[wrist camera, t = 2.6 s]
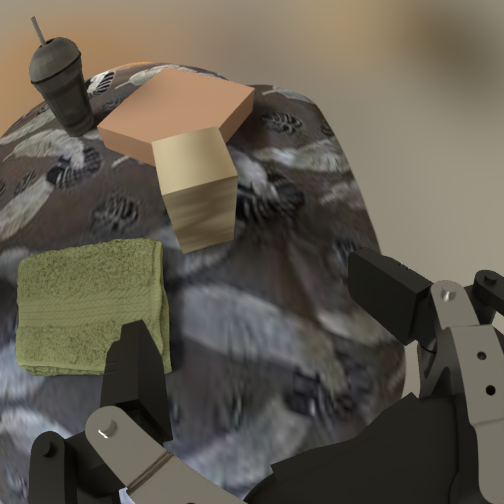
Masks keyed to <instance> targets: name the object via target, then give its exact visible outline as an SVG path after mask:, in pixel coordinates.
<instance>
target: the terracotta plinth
mask: <svg viewBox="0 0 504 504" xmlns="http://www.w3.org/2000/svg"><path fill="white" fill-rule="evenodd" d="M254 92H255V88H252V87H248V86H245V85H242V84H238V83H234V82H231V81H227V80H223V79H219V78H215V77H211V76H207V75H203V74H198V73H194V72H189V71H184V70H178V69H173V68H167V67H166V68H164V69H163V70H161V71H160V72H159V73H157V74H156V75H155V76H154V77H152V78H151V79H150V80H148V81H147V82H146V83H145V84H143V85H142V86H141V87H140V88H138V89H137V90H136V91H135V92H134V93H132V94H131V95H130V96H129V97H128V98H127V99H125V100H124V101H123V102H122V103H121V104H120V105H119V106H118V107H117V108H115V109H114V110H113V111H112V112H111V113H110V114H109V115H108V116H107V117H106V118H105V119H104V120H103V121H102V122H101V123H100V124H99V125H98V126H97V128H98V130H99V133H100V135H101V137H102V140H103V142H104V144H105V146H106V148H108V149H110V150H113V151H116V152H118V153H121V154H124V155H126V156H129V157H132V158H134V159H137V160H139V161H142V162H144V163H147V164H150V165H152V166H155V167H156V164H155V159H154V153H153V148H152V142H154V141H157V140H161V139H165V138H168V137H172V136H176V135H180V134H184V133H188V132H192V131H196V130H201V129H205V128H210V127H215V126H218V129H219V131H220V133H221V136H222V138H223V140H224V143H225V144H226V143H227V142H228V141H229V139H230V138H231V137H232V136H233V134H234V133H235V132H236V131H237V129H238V128H239V127H240V126H241V124H242V123H243V122H244V121H245V119H246V118H247V117H248V116H249V115H250V113H251V112H252V108H253V100H254Z"/></svg>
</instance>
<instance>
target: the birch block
mask: <svg viewBox="0 0 504 504" xmlns="http://www.w3.org/2000/svg"><path fill="white" fill-rule="evenodd" d="M152 148H153V153H154V159H155V164H156V169H157V174H158V179H159V184H160V188H161V193H162V197H163V200H164V203H165V206H166V208H167V211H168V214H169V217H170V220H171V223H172V225H173V228H174V231H175V234H176V236H177V239H178V242H179V244H180V247H181V250H182V252H183V254H186V253H189V252H193V251H196V250H199V249H203V248H206V247H210V246H213V245H216V244H220V243H223V242H227V241H230V240H233V239H234V227H235V212H236V198H237V184H238V173H237V171H236V169H235V166H234V164H233V162H232V159H231V157H230V154H229V152H228V150H227V147H226V145H225V143H224V140H223V138H222V136H221V133H220V131H219V129H218V126H215V127H210V128H205V129H201V130H196V131H192V132H188V133H184V134H180V135H176V136H172V137H168V138H165V139H161V140H157V141H154V142H152Z"/></svg>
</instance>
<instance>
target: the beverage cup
mask: <svg viewBox="0 0 504 504" xmlns="http://www.w3.org/2000/svg"><path fill="white" fill-rule="evenodd" d="M31 21H32V23H33V25H34V28H35V30H36V33H37V35H38V37H39V39H40V42H41V44H42V45H41V46H40V47H39V48H38V49H37V50H36V51H35V53H34V55H33V57H32V59H31V62H30V67H29V74H30V78H31V83H32V84H34V86H35V88H36V89H37V90H38V91H39V92H40V93H41V94H42V96H43V98H44V99H45V101H46V102H47V104H48V106H49V107H50V109H51V110H52V112H53V113H54V115H55V116H56V118H57V120H58V121H59V123H60V124H61V126H62V127H63V129H64V130H65V131H66V132H67V133H68V135H69V136H70V137H77V136H80V135H82V134H84V133H86V132H87V131H88V130H89V129H90V128H91V127H92V125H93V124H94V118H93V114H92V109H91V105H90V102H89V98H88V94H87V90H86V86H85V82H84V78H83V74H82V64H81V57H80V56H81V52H80V51H79V50H78V47H77V46H76V44H75V43H74V42H72V41H71V40H69V39H67V38H62V37H58V38H53V39H50V40H48V41H46V42H45V40H44V38H43V36H42V34H41V31H40V29H39V26H38V24H37V21H36V19H35V17H32V18H31Z"/></svg>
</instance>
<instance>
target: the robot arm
mask: <svg viewBox="0 0 504 504" xmlns="http://www.w3.org/2000/svg"><path fill="white" fill-rule="evenodd" d="M348 290H349V293H350V295H351V297H352V299H353V300H354V301H355V302H356V303H357V304H359V305H360V306H361V307H362V308H363V309H364V310H365V311H367V312H368V313H369V314H370V315H371V316H372V317H373V318H374V319H376V320H377V321H378V322H379V323H380V324H381V325H382V326H383V327H385V328H386V329H387V330H388V331H389V332H390V333H391V334H392V335H394V336H395V337H396V338H397V339H398V340H399V341H400V342H401V343H402V344H403V345H405V346H407V345H408V344H410V343H411V342H413V341H414V340H417V341H418V345H417V354H418V362H419V373H420V394H419V398H417V397H416V396H415V395H414V394H413V393H412V392H411V393H409V394H408V395H407V396H405V397H404V398H402V399H401V400H399V401H398V402H396V403H395V404H393V405H392V406H390V407H389V408H387V409H386V410H384V411H383V412H382V413H381V414H380V415H379V416H378V417H377V418H376V419H375V420H374V421H373V422H372V423H371V424H370V425H368V426H367V427H366V428H365V429H364V430H363V431H362V432H361V433H360V434H359V435H358V436H356V437H355V438H353V439H351V440H348V441H344V442H340V443H336V444H332V445H328V446H324V447H319V448H315V449H310V450H308V451H305V452H303V453H301V454H298V455H296V456H293V457H291V458H288V459H285V460H283V461H280V462H277V463H275V464H272V465H270V466H271V468H272V470H273V474H271V475H269V476H268V477H266V478H265V479H264V480H262V481H261V482H260V483H258V484H257V485H256V486H255V487H254V488H253V489H252V490H251V491H250V492H249V493H248V495H247V496H246V497H245V498H244V500H243V501H242V500H240V499H238V498H237V497H235V496H233V495H232V494H230V493H228V492H227V491H225V490H223V489H222V488H220V487H219V486H217V485H215V484H214V483H212V482H211V481H209V480H208V479H206V478H205V477H203V476H202V475H201V474H199V473H198V472H196V471H195V470H193V469H192V468H191V467H189V466H188V465H187V464H185V463H184V462H183V461H181V460H180V459H179V458H177V457H176V456H175V455H173V454H172V453H171V452H168V451H167V450H165V449H164V446H163V442H166V441H171V440H173V436H172V429H171V423H170V416H169V408H168V400H167V392H166V383H165V373H164V364H163V360H162V357H161V354H160V352H159V350H158V348H157V346H156V344H155V342H154V340H153V338H152V336H151V334H150V332H149V330H148V328H147V326H146V324H145V322H144V321H143V320H142V319H141V320H137V321H133V322H130V323H126V324H123V325H122V328H121V335H120V340H118V341H114V342H113V343H112V345H111V347H110V348H109V350H108V352H107V355H106V362H105V364H106V366H105V369H104V374H105V375H104V376H103V385H102V394H101V404H100V409H98V410H96V411H95V412H94V413H93V414H92V415H91V416H90V417H89V419H88V420H87V423H86V426H85V431H83V432H81V433H79V434H76V435H74V436H72V437H69V438H67V439H64V438H63V437H61V436H60V435H59V434H58V433H56V432H53V431H47V432H44V433H42V434H40V435H39V436H38V437H37V438H36V440H35V441H34V443H33V445H32V449H31V458H30V471H29V504H121V503H120V497H119V490H120V489H123V488H125V487H127V488H128V489H127V490H126V492H127V494H128V496H129V497H130V498H131V499H132V500H133V501H134V502H135V503H136V504H504V335H503V334H502V333H501V332H499V331H498V330H497V329H496V328H494V327H493V326H492V325H491V324H492V321H493V319H494V316H495V313H496V311H498V312H499V313H500V314H501V315H503V316H504V277H502V276H501V275H499V274H498V273H496V272H494V271H490V270H481V271H479V272H477V273H476V275H475V279H474V284H473V285H470V286H466V287H462V286H461V285H459V284H458V283H456V282H452V281H447V280H446V281H445V280H443V281H438V282H436V283H432V282H431V281H429V280H428V279H426V278H424V277H423V276H421V275H419V274H418V273H416V272H415V271H413V270H411V269H408V267H406V266H405V265H403V264H402V265H401V263H400V262H398V261H396V260H394V259H393V258H390V257H387V256H383V255H380V254H378V253H377V252H375V251H373V250H372V249H370V248H368V247H365V248H362V249H359V250H356V251H354V252H351V253H350V254H349V255H348ZM77 493H78V498H77Z"/></svg>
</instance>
